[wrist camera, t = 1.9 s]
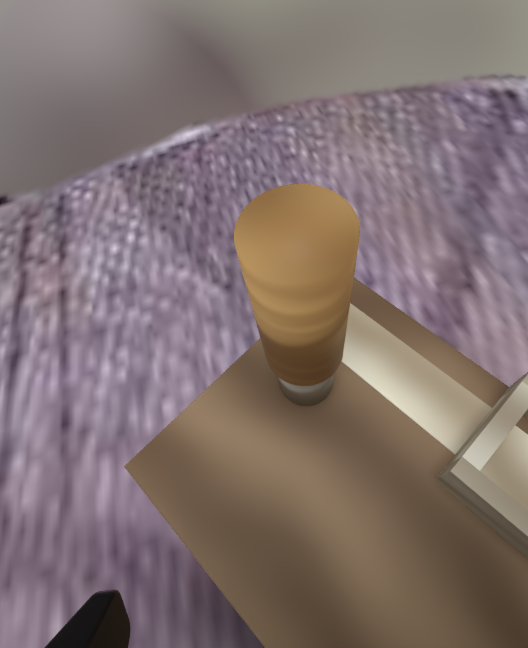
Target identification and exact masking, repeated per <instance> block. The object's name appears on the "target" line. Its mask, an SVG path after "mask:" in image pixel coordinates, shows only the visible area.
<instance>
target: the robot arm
mask: <svg viewBox="0 0 528 648" xmlns="http://www.w3.org/2000/svg"><path fill="white" fill-rule="evenodd" d="M129 638H130V622H129V618H128V615H127V612H126V609H125V606H124V603H123V600H122V597H121V595H120V593H119V592H118V591H117V590H107V591H99V592H96V593H95V594H93V595H92V596H91V597H90V598H89V599H88V600H87V602H86V603H85V604H84V605H83V606H82V607H81V608H80V609H79V610H78V611H77V613H76V614H75V615H74V616H73V617H72V618H71V619H70V620H69V621H68V622H67V624H66V625H65V626H64V627H63V628H62V629H61V630H60V631H59V632H58V634H57V635H56V636H55V637H54V638H53V639H52V640H51V641H50V642H49V643H48V645H47V646H46V647H45V648H128V644H129Z"/></svg>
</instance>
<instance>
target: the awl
mask: <svg viewBox="0 0 528 648" xmlns="http://www.w3.org/2000/svg"><path fill="white" fill-rule="evenodd" d="M359 236H360V225H359V221H358V218H357V215H356V213H355V211H354V209H353V208H352V206H351V205H350V204H349V203H348V202H347V201H346V200H345V199H344V198H343V197H341V196H340V195H339V194H337V193H335V192H333V191H332V190H329V189H327V188H324V187H320V186H317V185H311V184H290V185H284V186H280V187H277V188H274V189H271V190H269V191H266V192H264V193H263V194H261V195H259V196H258V197H256V198H255V199H254V200H252V201H251V202H250V203H249V204H248V205H247V206H246V207H245V209H244V210H243V211H242V213H241V214H240V216H239V218H238V220H237V223H236V226H235V231H234V242H235V247H236V251H237V254H238V258H239V262H240V265H241V269H242V272H243V276H244V280H245V283H246V287H247V290H248V294H249V298H250V301H251V305H252V308H253V312H254V316H255V319H256V323H257V327H258V330H259V334H260V337H261V341H262V345H263V348H264V352H265V355H266V359H267V362H268V365H269V366H270V368H271V370H272V371H273V372H274V373H275V374H276V375H277V376H278V380H279V384H280V388H281V391H282V392H283V394H284V395H285V397H286V398H287V399H288V400H290V401H291V402H293V403H295V404H297V405H301V406H312V405H316V404H318V403H320V402H322V401H323V400H324V399H325V398H327V396H328V395H329V394H330V392H331V390H332V386H333V379H334V373H335V372H336V370H337V369H338V367H339V366H340V363H341V361H342V358H343V351H344V344H345V337H346V329H347V322H348V315H349V308H350V301H351V293H352V286H353V279H354V272H355V265H356V257H357V250H358V243H359Z"/></svg>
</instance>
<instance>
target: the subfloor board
mask: <svg viewBox="0 0 528 648" xmlns="http://www.w3.org/2000/svg"><path fill="white" fill-rule="evenodd" d="M124 467H125V468H126V469H127V471H128V472H129V473H130V475H131V476H132V477H133V478H134V480H135V481H136V482H137V484H138V485H139V486H140V488H141V489H142V490H143V491H144V493H145V494H146V495H147V497H148V498H149V499H150V500H151V502H152V503H153V504H154V506H155V507H156V508H157V509H158V511H159V512H160V513H161V515H162V516H163V517H164V518H165V520H166V521H167V522H168V524H169V525H170V526H171V527H172V529H173V530H174V531H175V533H176V534H177V535H178V536H179V538H180V539H181V540H182V542H183V543H184V544H185V545H186V547H187V548H188V549H189V551H190V552H191V553H192V554H193V556H194V557H195V558H196V560H197V561H198V562H199V563H200V565H201V566H202V567H203V569H204V570H205V571H206V573H207V574H208V575H209V576H210V578H211V579H212V580H213V582H214V583H215V584H216V585H217V587H218V588H219V589H220V591H221V592H222V593H223V594H224V596H225V597H226V598H227V600H228V601H229V602H230V603H231V605H232V606H233V607H234V609H235V610H236V611H237V612H238V614H239V615H240V616H241V618H242V619H243V620H244V621H245V623H246V624H247V625H248V627H249V628H250V629H251V630H252V632H253V633H254V634H255V636H256V637H257V638H258V639H259V641H260V642H261V643H262V645H263V646H264V647H265V648H528V372H527V373H526V374H525V375H524V376H523V377H521V378H520V379H519V380H518V381H516V382H515V383H514V384H513V385H511V386H510V387H508V386H507V385H505V384H504V383H502V382H501V381H500V380H498V379H497V378H495V377H494V376H493V375H491V374H490V373H488V372H487V371H486V370H484V369H483V368H481V367H480V366H478V365H477V364H476V363H474V362H473V361H471V360H470V359H469V358H467V357H466V356H464V355H463V354H461V353H460V352H459V351H457V350H456V349H454V348H453V347H452V346H450V345H449V344H447V343H446V342H445V341H443V340H442V339H440V338H439V337H437V336H436V335H435V334H433V333H432V332H430V331H429V330H428V329H426V328H425V327H423V326H422V325H421V324H419V323H418V322H416V321H415V320H413V319H412V318H411V317H409V316H408V315H406V314H405V313H404V312H402V311H401V310H399V309H398V308H397V307H395V306H394V305H392V304H391V303H389V302H388V301H387V300H385V299H384V298H382V297H381V296H380V295H378V294H377V293H375V292H374V291H372V290H371V289H370V288H368V287H367V286H365V285H364V284H363V283H361V282H360V281H358V280H357V279H356V278H354V279H353V286H352V293H351V301H350V308H349V315H348V322H347V329H346V337H345V344H344V351H343V358H342V361H341V363H340V366H339V367H338V369H337V370H336V372H335V373H334V379H333V386H332V390H331V392H330V394H329V395H328V396H327V398H325V399H324V400H323V401H322V402H320V403H318V404H316V405H312V406H301V405H297V404H295V403H293V402H291V401H290V400H288V399H287V398H286V397H285V395H284V394H283V392H282V391H281V388H280V384H279V380H278V376H277V375H276V374H275V373H274V372H273V371H272V370H271V368H270V366H269V365H268V362H267V359H266V355H265V352H264V348H263V345H262V341H261V338H260V339H259V340H258V341H257V342H256V343H255V344H254V345H253V346H251V347H250V348H249V349H248V350H247V351H246V352H245V353H244V354H243V355H242V356H241V357H240V358H239V359H238V360H237V361H236V362H235V363H233V364H232V365H231V366H230V367H229V368H228V369H227V370H226V371H225V372H224V373H223V374H222V375H221V376H220V377H219V378H218V379H216V380H215V381H214V382H213V383H212V384H211V385H210V386H209V387H208V388H207V389H206V390H205V391H204V392H203V393H202V394H201V395H200V396H198V397H197V398H196V399H195V400H194V401H193V402H192V403H191V404H190V405H189V406H188V407H187V408H186V409H185V410H184V411H183V412H181V413H180V414H179V415H178V416H177V417H176V418H175V419H174V420H173V421H172V422H171V423H170V424H169V425H168V426H167V427H166V428H164V429H163V430H162V431H161V432H160V433H159V434H158V435H157V436H156V437H155V438H154V439H153V440H152V441H151V442H150V443H149V444H148V445H146V446H145V447H144V448H143V449H142V450H141V451H140V452H139V453H138V454H137V455H136V456H135V457H134V458H133V459H132V460H131V461H129V462H128V463H127V464H126V465H125V466H124Z"/></svg>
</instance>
